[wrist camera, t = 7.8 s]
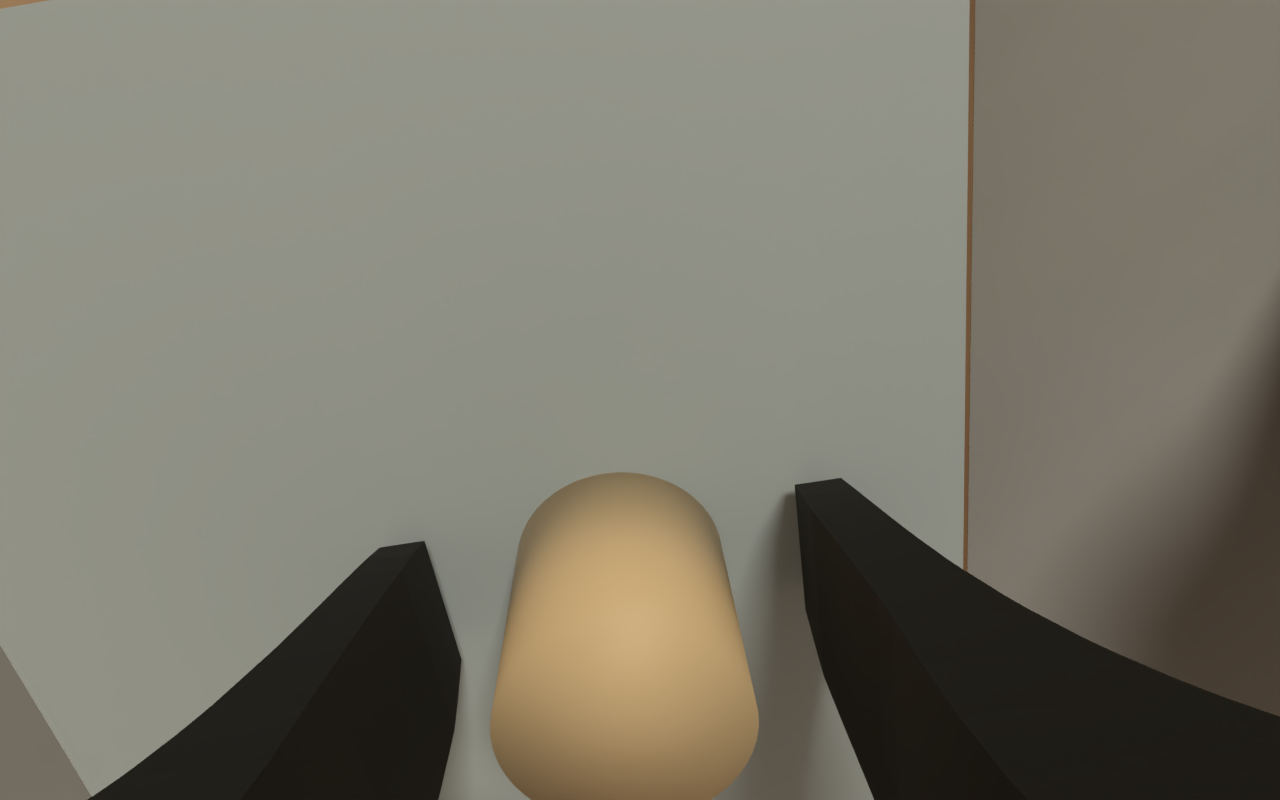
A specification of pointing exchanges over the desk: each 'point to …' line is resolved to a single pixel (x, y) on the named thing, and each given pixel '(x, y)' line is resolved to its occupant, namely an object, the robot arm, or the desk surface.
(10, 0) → the wooden tray
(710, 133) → the lid
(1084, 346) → the desk surface
